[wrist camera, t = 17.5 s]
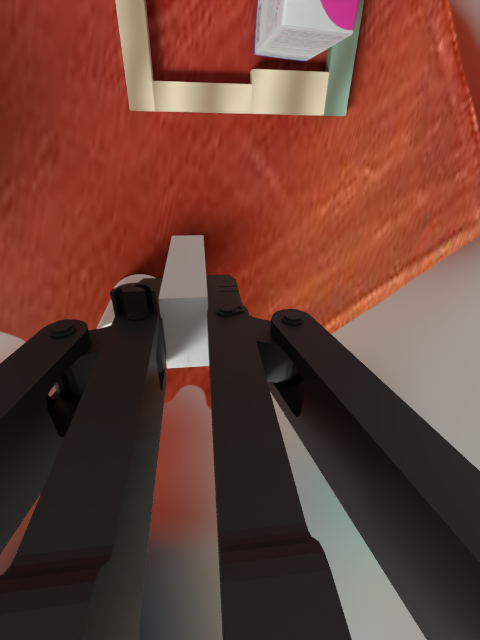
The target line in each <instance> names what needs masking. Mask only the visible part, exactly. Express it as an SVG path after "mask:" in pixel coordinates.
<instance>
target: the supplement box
mask: <svg viewBox="0 0 480 640" xmlns="http://www.w3.org/2000/svg"><path fill="white" fill-rule="evenodd" d="M358 4H359V0H258V1H257V14H256V27H255V41H254V55H258V56H266V57H273V58H280V59H288V60H296V61H303V62H306V61H307V60H309V59H311V58H312V57H314V56H316V55H318V54H319V53H321V52H323V51H325V50H326V49H328V48H330V47H331V46H333V45H335V44H337V43H338V42H340V41H342V40H344V39H345V38H347V37H349V36H351V35H352V34H353V30H354V25H355V20H356V15H357V9H358Z"/></svg>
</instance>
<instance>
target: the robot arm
mask: <svg viewBox="0 0 480 640" xmlns="http://www.w3.org/2000/svg"><path fill="white" fill-rule="evenodd" d="M110 295H111V300H112V304H113V309H114V314H115V317H114V320H113V322H112V325H110V326H107V327H103V328H99V329H95V330H90V331H88V327H87V324H86V323H85V322H83V321H80V320H68V319H66V320H63V321H62V320H60V321H57V322H55V323H52V324H50V325H48V326H46V327H44V328H43V329H41V330H40V331H39V332H38V333H37V334H35V335H34V336H33V337H32V338H30V339H29V340H28V341H27V342H26V343H24V344H23V345H22V346H21V347H20V348H18V349H17V350H16V351H15V352H14V353H13V354H11V355H10V356H9V357H8V358H7V359H5V360H4V361H3V362H2V363H0V554H1V552H2V551H3V549H4V548H5V546H6V545H7V543H8V542H9V540H10V539H11V537H12V536H13V534H14V533H15V531H16V530H17V528H18V527H19V525H20V524H21V522H22V521H23V519H24V518H25V516H26V515H27V513H28V512H29V510H30V509H31V507H32V506H33V504H34V503H35V501H36V500H37V498H38V497H39V495H40V494H41V495H40V498H39V501H38V503H37V505H36V508H35V510H34V512H33V515H32V517H31V520H30V522H29V524H28V527H27V529H26V531H25V534H24V536H23V539H22V541H21V544H20V546H19V548H18V551H17V553H16V556H15V558H14V560H13V561H12V563H11V565H10V567H9V568H8V569H7V571H6V572H5V573H4V574H3V575H1V576H0V640H139V623H140V612H141V603H142V594H143V585H144V576H145V567H146V558H147V549H148V540H149V531H150V522H151V513H152V504H153V495H154V486H155V477H156V468H157V459H158V450H159V441H160V432H161V423H162V414H163V405H164V396H165V387H166V370H165V363H167V368H181V367H197V366H209V375H210V395H211V415H212V433H213V452H214V453H213V454H214V473H215V493H216V513H217V533H218V553H219V574H220V594H221V613H222V636H223V640H352V639H351V636H350V633H349V629H348V626H347V623H346V619H345V616H344V613H343V609H342V606H341V603H340V599H339V596H338V593H337V589H336V586H335V583H334V579H333V576H332V573H331V570H330V567H329V564H328V561H327V558H326V555H325V552H324V550H323V549H322V547H321V545H320V543H319V541H317V540H316V539H314V538H313V537H311V535H310V533H309V531H308V529H307V525H306V522H305V519H304V515H303V511H302V507H301V504H300V500H299V496H298V493H297V489H296V485H295V482H294V479H293V474H292V471H291V467H290V463H289V460H288V456H287V453H286V449H285V446H284V442H283V438H282V435H281V430H280V427H279V423H278V420H277V416H276V412H275V409H274V405H273V401H272V398H271V394H270V392H271V393H272V395H273V397H274V398H275V400H276V401H277V403H278V405H279V406H280V407H281V409H282V411H283V412H284V414H285V416H286V417H287V419H288V420H289V422H290V423H291V425H292V427H293V428H294V430H295V431H296V433H297V434H298V436H299V438H300V439H301V441H302V443H303V444H304V446H305V447H306V449H307V450H308V452H309V454H310V455H311V457H312V458H313V460H314V462H315V463H316V465H317V466H318V468H319V470H320V471H321V473H322V474H323V476H324V477H325V479H326V481H327V482H328V484H329V485H330V487H331V489H332V490H333V491H334V493H335V495H336V496H337V498H338V499H339V501H340V503H341V504H342V506H343V508H344V509H345V511H346V512H347V514H348V516H349V517H350V519H351V520H352V522H353V523H354V525H355V527H356V528H357V530H358V531H359V533H360V535H361V536H362V538H363V539H364V541H365V542H366V544H367V546H368V547H369V548H370V550H371V552H372V553H373V555H374V557H375V558H376V560H377V561H378V563H379V565H380V566H381V568H382V569H383V571H384V573H385V574H386V575H387V577H388V579H389V581H390V582H391V583H392V585H393V587H394V588H395V590H396V592H397V593H398V595H399V596H400V598H401V600H402V601H403V603H404V604H405V606H406V607H407V609H408V611H409V612H410V614H411V615H412V617H413V618H414V620H415V622H416V623H417V625H418V626H419V628H420V630H421V631H422V633H423V634H424V636H425V638H426V639H427V640H480V471H479V470H478V469H477V468H476V467H475V466H473V465H472V464H471V463H470V462H469V461H468V460H467V459H466V458H465V457H464V456H463V455H462V454H460V453H459V452H458V451H457V450H456V449H455V448H454V447H453V446H452V445H451V444H449V442H447V441H446V440H445V439H444V438H443V437H442V436H441V435H440V434H439V433H438V432H436V430H434V429H433V428H432V427H431V426H430V425H429V424H428V423H427V422H426V421H425V420H424V419H422V418H421V417H420V416H419V415H418V414H417V413H416V412H415V411H414V410H413V409H412V408H410V407H409V406H408V405H407V404H406V403H405V402H404V401H403V400H402V399H401V398H400V397H399V396H397V395H396V394H395V393H394V392H393V391H392V390H391V389H390V388H389V387H388V386H387V385H386V384H384V383H383V382H382V381H381V380H380V379H379V378H378V377H377V376H376V375H375V374H374V373H372V372H371V371H370V370H369V369H368V368H367V367H366V366H365V365H364V364H363V363H362V362H360V361H359V360H358V359H357V358H356V357H355V356H354V355H353V354H352V353H351V352H350V351H348V350H347V349H346V348H345V347H344V346H343V345H342V344H341V343H340V342H339V341H338V340H337V339H336V338H334V337H333V336H332V335H331V334H330V333H329V332H328V331H327V330H326V329H325V328H324V327H322V326H321V325H320V324H319V323H318V322H317V321H316V320H315V319H314V318H313V317H312V316H310V315H309V314H307V313H306V312H303V311H300V310H297V309H284V310H280V311H277V312H275V313H274V314H273V315H272V318H271V321H270V320H262V319H258V318H255V317H252V316H250V315H249V313H248V310H247V309H246V307H245V306H243V305H242V302H241V298H240V294H239V291H238V287H237V283H236V280H235V279H234V278H233V277H232V276H230V275H207V276H206V266H205V251H204V237H203V235H188V236H172V238H171V242H170V247H169V252H168V256H167V261H166V266H165V270H164V275H163V278H143V279H142V280H140V281H139V282H138V283H137V282H136V283H127V284H123V285H120V286H118V287H116V288H114V289H113V290H112V291H111V292H110ZM54 385H55V388H56V392H55V393H54V394H53V395H52V396H51V397H49V395H48V394H49V392H50V390H51V388H52V387H53V386H54ZM41 492H42V493H41Z"/></svg>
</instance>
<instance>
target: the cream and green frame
mask: <svg viewBox="0 0 480 640" xmlns="http://www.w3.org/2000/svg"><path fill="white" fill-rule="evenodd" d="M115 1H116V9H117V16H118V24H119V31H120V39H121V46H122V54H123V62H124V69H125V77H126V84H127V92H128V99H129V107H130V110H131V111H161V112H201V113H240V114H279V115H318V116H346V110H347V104H348V98H349V92H350V85H351V79H352V73H353V66H354V60H355V54H356V48H357V41H358V35H359V29H360V22H361V16H362V10H363V3H364V0H359V4H358V9H357V15H356V20H355V25H354V30H353V34H352V35H351V36H349V37H347V38H345V39H344V40H342V41H340V42H338V43H337V44H335V45H333V46H331V47H330V48H328V49H327V56H326V65H325V72H315V71H290V70H266V69H252V70H251V71H250V84H229V83H201V82H173V81H153V70H152V60H151V50H150V39H149V29H148V19H147V8H146V0H115Z"/></svg>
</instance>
